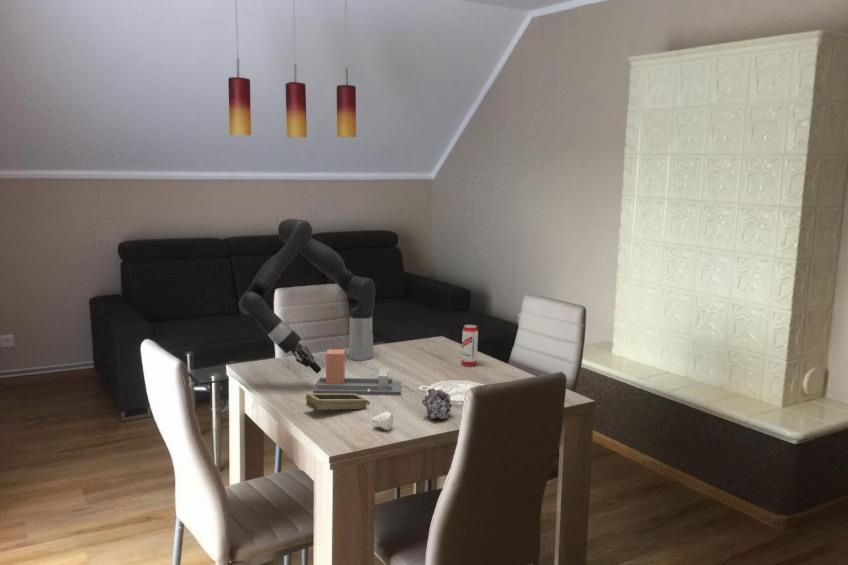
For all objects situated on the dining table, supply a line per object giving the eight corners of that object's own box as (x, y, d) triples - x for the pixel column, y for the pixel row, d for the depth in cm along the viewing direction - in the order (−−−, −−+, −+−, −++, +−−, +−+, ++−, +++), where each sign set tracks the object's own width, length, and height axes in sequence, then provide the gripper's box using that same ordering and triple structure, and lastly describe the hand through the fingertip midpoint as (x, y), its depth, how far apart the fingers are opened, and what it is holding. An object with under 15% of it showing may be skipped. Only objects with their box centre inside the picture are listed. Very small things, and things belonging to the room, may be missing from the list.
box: (302, 408, 231) (305, 393, 230) (361, 406, 245) (363, 392, 244) (315, 416, 224) (318, 400, 224) (374, 414, 238) (377, 399, 238)
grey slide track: (313, 393, 249) (313, 376, 248) (317, 383, 261) (317, 366, 260) (400, 395, 250) (400, 377, 249) (400, 384, 262) (400, 368, 261)
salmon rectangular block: (326, 387, 252) (326, 353, 250) (327, 381, 258) (328, 349, 256) (343, 387, 252) (343, 354, 250) (344, 382, 258) (344, 349, 256)
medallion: (483, 412, 237) (483, 405, 236) (406, 400, 246) (406, 394, 245) (500, 391, 258) (501, 385, 258) (429, 381, 267) (430, 375, 267)
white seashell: (375, 424, 222) (375, 407, 221) (393, 426, 220) (394, 409, 219) (368, 430, 217) (369, 413, 216) (387, 433, 215) (388, 415, 214)
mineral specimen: (426, 394, 240) (433, 373, 232) (454, 406, 238) (461, 386, 231) (411, 422, 230) (417, 402, 223) (439, 436, 229) (446, 416, 221)
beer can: (468, 361, 294) (469, 323, 291) (480, 365, 290) (481, 326, 287) (457, 364, 290) (459, 325, 287) (469, 368, 285) (471, 328, 283)
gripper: (288, 334, 245) (325, 369, 247) (294, 325, 258) (329, 358, 260) (273, 348, 246) (309, 384, 248) (279, 339, 259) (314, 372, 261)
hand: (319, 371), depth 254 cm, fingers closed
